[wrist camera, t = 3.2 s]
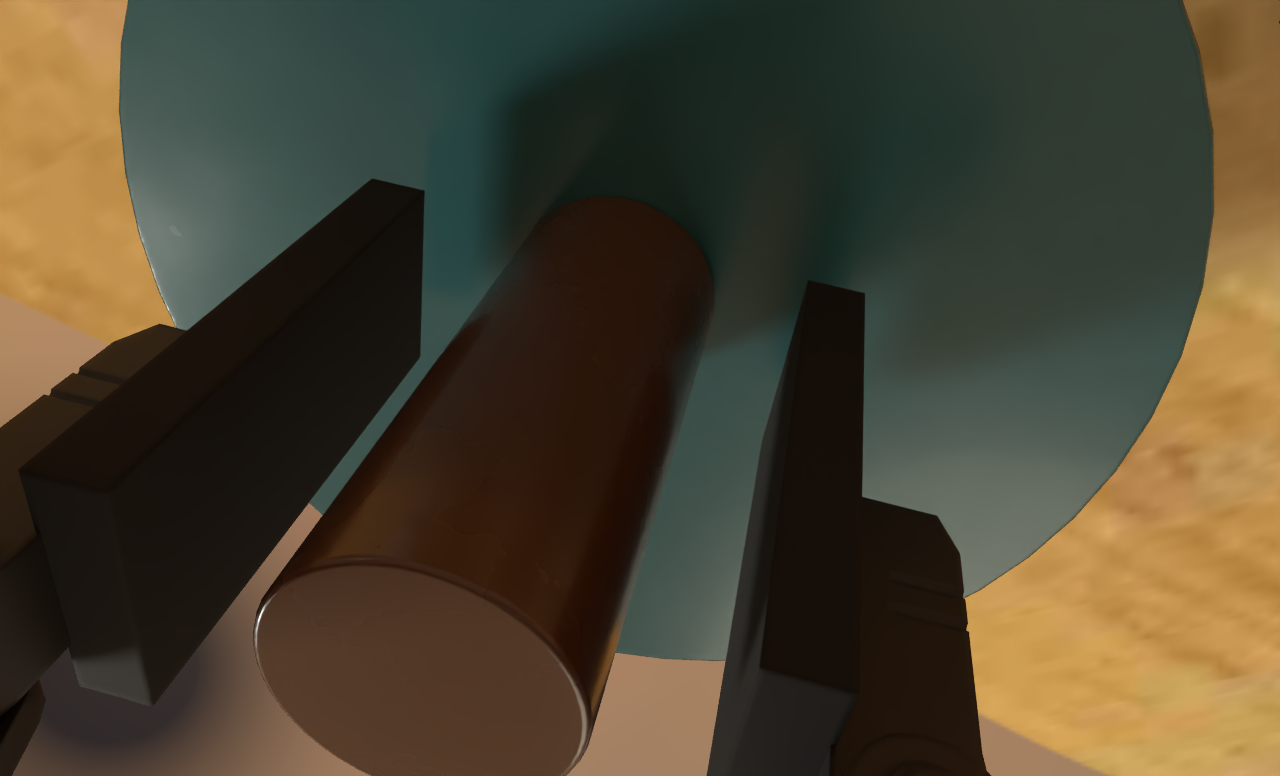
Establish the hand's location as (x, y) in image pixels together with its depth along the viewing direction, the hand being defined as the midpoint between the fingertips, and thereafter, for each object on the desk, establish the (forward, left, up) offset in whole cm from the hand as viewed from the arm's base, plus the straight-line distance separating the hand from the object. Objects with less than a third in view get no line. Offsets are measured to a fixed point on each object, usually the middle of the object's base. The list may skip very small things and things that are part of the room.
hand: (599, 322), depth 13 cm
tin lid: (0, 0, -2) cm, 2 cm away
